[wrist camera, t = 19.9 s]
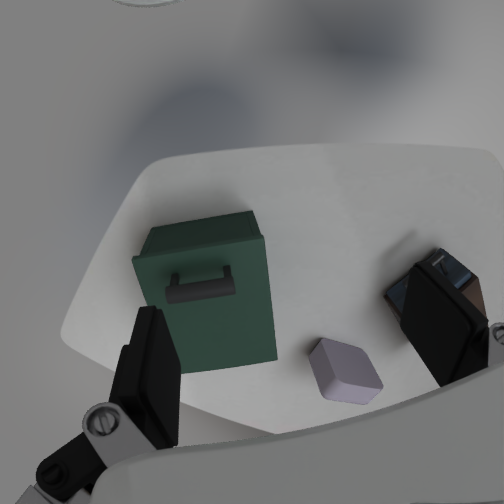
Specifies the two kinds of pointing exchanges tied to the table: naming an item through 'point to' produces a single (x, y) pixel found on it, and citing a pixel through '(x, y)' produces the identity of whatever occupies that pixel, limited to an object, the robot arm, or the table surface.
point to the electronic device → (344, 372)
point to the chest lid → (213, 302)
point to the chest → (201, 232)
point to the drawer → (442, 263)
